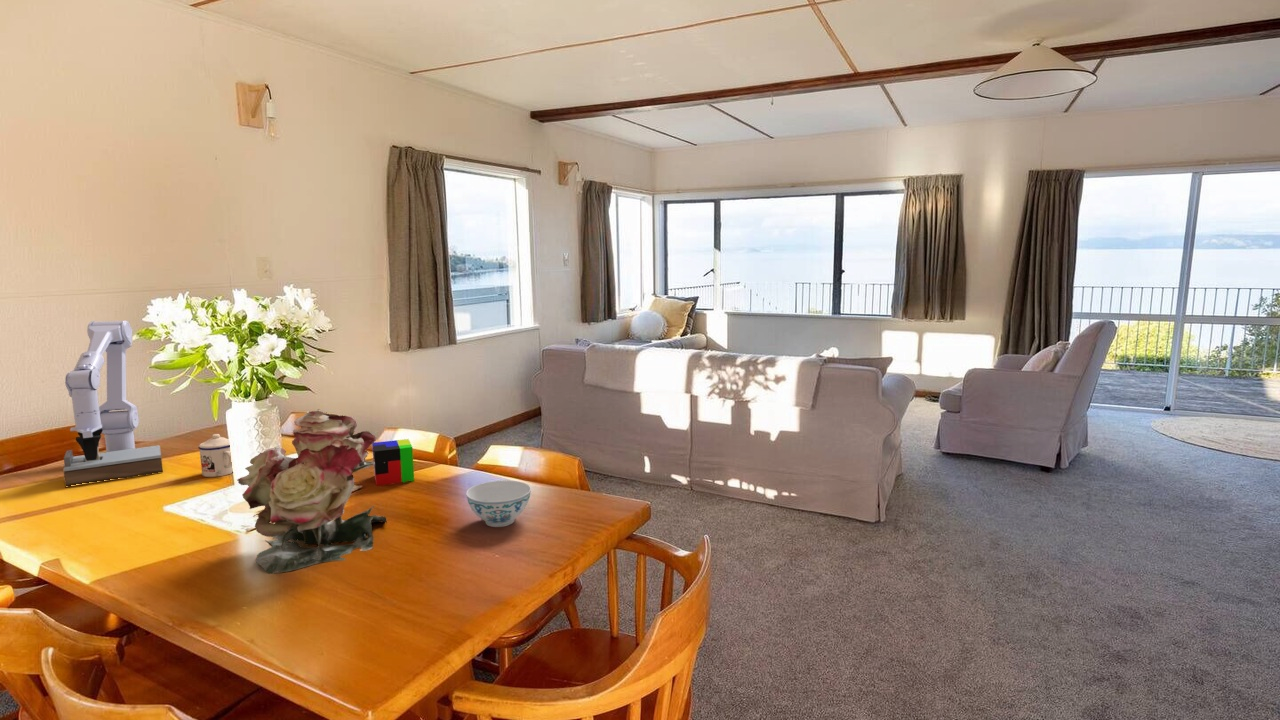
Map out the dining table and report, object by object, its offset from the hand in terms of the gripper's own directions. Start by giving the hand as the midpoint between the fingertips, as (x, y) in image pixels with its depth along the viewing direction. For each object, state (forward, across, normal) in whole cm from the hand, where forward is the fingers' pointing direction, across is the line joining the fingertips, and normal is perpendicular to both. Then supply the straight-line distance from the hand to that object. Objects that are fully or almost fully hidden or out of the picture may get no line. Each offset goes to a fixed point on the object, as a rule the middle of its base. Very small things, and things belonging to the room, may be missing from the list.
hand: (92, 457), depth 192 cm
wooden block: (+3, 0, 0) cm, 3 cm away
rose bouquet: (+6, +93, +41) cm, 102 cm away
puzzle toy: (+6, +55, +69) cm, 88 cm away
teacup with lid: (+6, +19, +30) cm, 36 cm away
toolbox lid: (+1, 0, +5) cm, 5 cm away
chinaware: (+6, +104, +79) cm, 131 cm away
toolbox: (+6, 0, +5) cm, 8 cm away
